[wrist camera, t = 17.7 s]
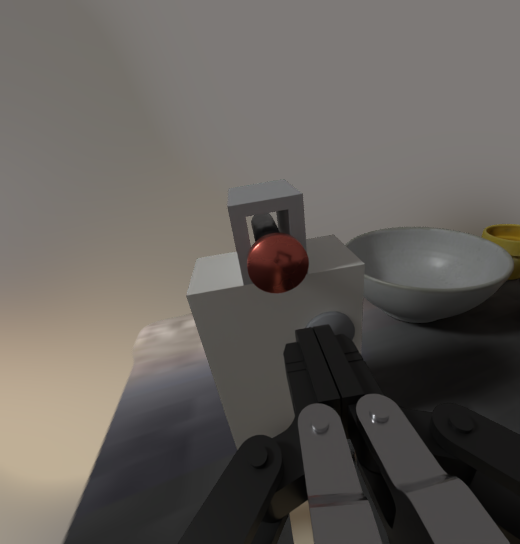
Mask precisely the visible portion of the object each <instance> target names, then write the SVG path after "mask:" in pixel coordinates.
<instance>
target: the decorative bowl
mask: <svg viewBox="0 0 520 544" xmlns="http://www.w3.org/2000/svg"><path fill="white" fill-rule="evenodd" d="M345 246H346V247H347V248H348V249H350V250H351V251H352V252H353V253H354V254H355V255H356V256H357V257H358V258H359V259H360V260H361V261H362V262H363V263H364V264H365V271H364V295H363V296H364V297H365V298H366V299H367V300H368V301H369V302H371V303H372V304H373V305H375V306H377V307H378V308H380V309H381V310H382V311H383V312H385V313H386V314H387V315H389V316H391V317H393V318H396V319H398V320H402V321H406V322H412V323H427V322H432V321H436V320H438V319H443V318H448V317H452V316H455V315H459V314H461V313H464V312H466V311H468V310H470V309H472V308H474V307H476V306H478V305H479V304H481V303H483V302H484V301H486V300H487V299H488V298H489V297H491V296H492V295H493V294H494V293H495V292H496V291H498V290H499V289H500V287H501V286H502V285H503V284H504V283H505V282H506V281H507V280H508V278H509V277H510V275H511V274H512V272H513V270H514V260H513V258H512V256H511V255H510V254H509V253H508V252H507V251H506V250H505V249H504V248H502V247H501V246H499V245H497V244H496V243H494V242H491V241H489V240H487V239H484V238H482V237H479V236H475V235H472V234H468V233H464V232H460V231H454V230H449V229H441V228H430V227H398V228H388V229H381V230H376V231H372V232H368V233H365V234H362V235H360V236H357V237H355V238H354V239H352V240H350V241H349V242H348V243H347V244H346V245H345Z"/></svg>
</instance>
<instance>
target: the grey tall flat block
mask: <svg viewBox="0 0 520 544" xmlns="http://www.w3.org/2000/svg"><path fill="white" fill-rule="evenodd" d="M275 211H276V213H277V221H278V230H279V231H280V233H285V234H289V235H291V236H293V237H295V238H296V239H297V240H298V241H299V242H300V243H301V245H302V246H303V248H304V249H305V251H306V253H307V255H308V258H309V268H308V272H307V274H306V276H305V278H304V279H303V281H302V282H301V283H300V284H299V285H298V286H297V287H295V288H294V289H292V290H290V291H287V292H283V293H268V292H265V291H263V290H261V289H259V288H258V287H256V286H255V285H254V284H253V282H252V281H251V279H250V277H249V274H248V268H247V256H248V253H249V250H250V248H251V245H250V240H249V234H248V228H247V223H246V218H245V217H246V216H252V215H258V214H264V213H270V212H275ZM228 212H229V217H230V221H231V226H232V231H233V236H234V241H235V245H236V251H237V252H231V253H226V254H220V255H215V256H209V257H203V258H197V261H196V264H195V267H194V271H193V274H192V277H191V281H190V284H189V288H188V291H187V295H186V296H187V299H188V302H189V305H190V308H191V311H192V314H193V317H194V320H195V323H196V327H197V330H198V333H199V336H200V339H201V342H202V345H203V348H204V351H205V354H206V357H207V360H208V363H209V366H210V369H211V372H212V375H213V378H214V381H215V384H216V387H217V390H218V393H219V396H220V399H221V402H222V405H223V408H224V411H225V414H226V417H227V420H228V423H229V426H230V429H231V432H232V435H233V438H234V442H235V445H236V448H237V450H238V449H239V447H240V446H241V445H242V443H243V442H244V441H245V440H247V439H248V438H250V437H252V436H255V435H266V436H269V437H271V438H273V437H275V436H277V435H279V434H280V433H282V432H284V431H285V430H286V429H287V428H289V426H290V425H291V424H292V422H293V420H294V417H295V414H294V410H293V405H292V400H291V396H290V391H289V386H288V381H287V376H286V369H285V362H284V356H283V352H284V349H285V345H286V344H287V343H293V342H296V337H295V330H297V329H303V328H309V327H314V326H320V325H326V324H329V325H330V327H331V329H332V331H333V333H334V335H339V334H344V335H346V336H347V337H348V338H349V339H351V340H352V341H353V342H354V344H355V346H356V347H357V349H358V351H359V353H360V354H361V342H362V318H363V295H364V271H365V264H364V263H363V262H362V261H361V260H360V259H359V258H358V257H357V256H356V255H355V254H354V253H353V252H352V251H351V250H350V249H348V248H347V247H346V246H345V245H344V244H343V243H342V242H341V241H340V240H339V239H338V238H337V237H336V236H335V235H329V236H323V237H317V238H312V239H306V233H305V221H304V205H303V194H302V193H301V192H300V191H298V190H297V189H296V188H295V187H294V186H292V185H291V184H289V183H288V182H287V181H286V180H285V179H283V180H277V181H271V182H265V183H259V184H253V185H247V186H241V187H235V188H229V190H228Z"/></svg>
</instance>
